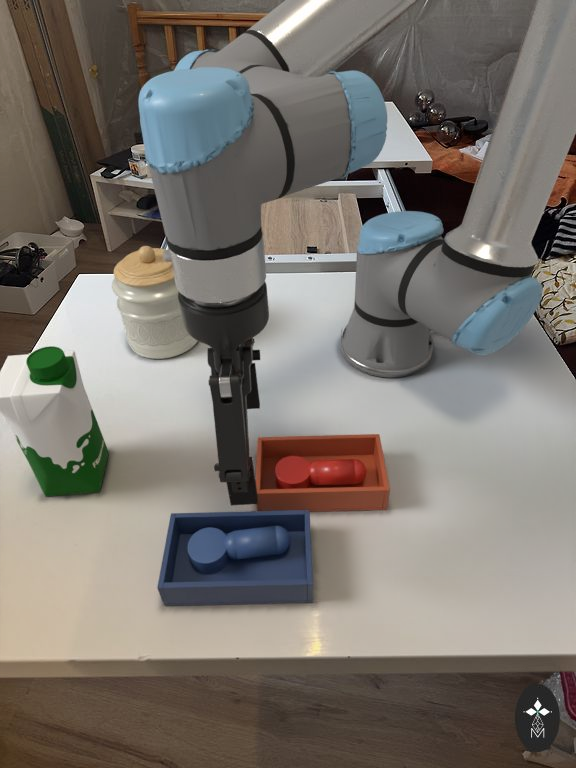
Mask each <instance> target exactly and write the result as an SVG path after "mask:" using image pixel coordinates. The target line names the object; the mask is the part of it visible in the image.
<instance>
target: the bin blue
mask: <svg viewBox="0 0 576 768" xmlns="http://www.w3.org/2000/svg"><path fill="white" fill-rule="evenodd" d="M310 514H311V513H310V511H309V510H286V511H257V510H254V511H252V510H250V511H249V510H248V511H215V512H213V511H212V512H211V511H209V512H208V511H207V512H171V513H170V516H169V521H168V527H167V533H166V538H165V543H164V550H163V555H162V560H161V565H160V570H159V576H158V582H157V587H156V588H157V591H158V593H159V596H160V598H161V601H162V604H163V607H172V606H173V607H177V606H180V607H181V606H216V605H218V606H221V605H223V606H224V605H262V604H263V605H264V604H267V605H268V604H304V603H305V604H306V603H307V604H308V603H309V604H310V603H314V575H313V556H312V555H313V554H312V552H313V551H312V533H311V515H310ZM269 526H281V527H283V528H285V529H286V530H287V531H288V533H289V535H290V545H289V547H288V549H287V550H286V551H285V552H284V553H282V554H278V555H270V556H263V557H255V558H247V559H239V560H234V559H231V558H230V559H229V561H228V563H227V565H226V566H225V567H224V568H223V569H222V570H220V571H219V572H216V573H213V574H203V573H200V572H198V571H196V570H195V569H194V568H193V566H192V564H191V561H190V557H189V554H188V549H187V547H188V542H189V540H190V538H191V537H192V535H193V534H194V533H196V532H197V531H199V530H201V529H203V528H208V527H213V528H217V529H220V530H221V531H223V532H224V533H225V535H227V534H229V533H230V532H232V531H237V530H245V529H253V528H261V527H269Z"/></svg>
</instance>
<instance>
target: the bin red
mask: <svg viewBox="0 0 576 768" xmlns="http://www.w3.org/2000/svg"><path fill="white" fill-rule="evenodd" d="M381 441H382V440H381V436H380V434H379V433H367V434H364V433H363V434H330V435H329V434H327V435H326V434H325V435H292V436H291V435H290V436H287V435H285V436H257V442H256V462H255V463H256V464H255V481H256V488H257V495H258V504H255V505H256V511H286V510H309V511H310V512H312V513H313V512H347V511H349V512H351V511H387V510H388V505H389V497H390V491H391V488H390V484H389V478H388V473H387V468H386V462H385V457H384V452H383V446H382V442H381ZM288 456H299V457H302V458H304V459H306V460H307V461H308V462H309V464H310V463H311V462H312V461H315V460H340V459H356V460H359V461H361V462H362V463H363V464H364V465H365V467H366V477H365V479H364V480H363V481H362V482H361V483H359V484H349V485H314V484H312V483H311V484H310V487H309V488H303V489H278V487H277V485H276V476H275V467H276V465H277V463H278V462H279V461H280V460H281V459H283V458H285V457H288Z"/></svg>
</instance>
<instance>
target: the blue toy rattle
mask: <svg viewBox="0 0 576 768" xmlns="http://www.w3.org/2000/svg"><path fill="white" fill-rule="evenodd" d="M289 545H290V535H289V533H288V531H287V530H286V529H285V528H283V527H281V526H269V527H261V528H253V529H245V530H237V531H232V532H230V533H229V534H227V535H225V533H224V532H223V531H221V530H220V529H217V528H213V527H208V528H203V529H201V530H199V531H197V532H196V533H194V534H193V535H192V537H191V538H190V540H189V542H188V547H187V549H188V554H189V557H190V561H191V564H192V566H193V568H194V569H195V570H196V571H198V572H200V573H203V574H213V573H216V572H219V571H220V570H222V569H223V568H224V567H225V566H226V565H227V563H228V561H229V559H230V558H231V559H234V560H239V559H247V558H255V557H263V556H270V555H278V554H282V553H284V552H285V551H286V550H287V549H288V547H289Z"/></svg>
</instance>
